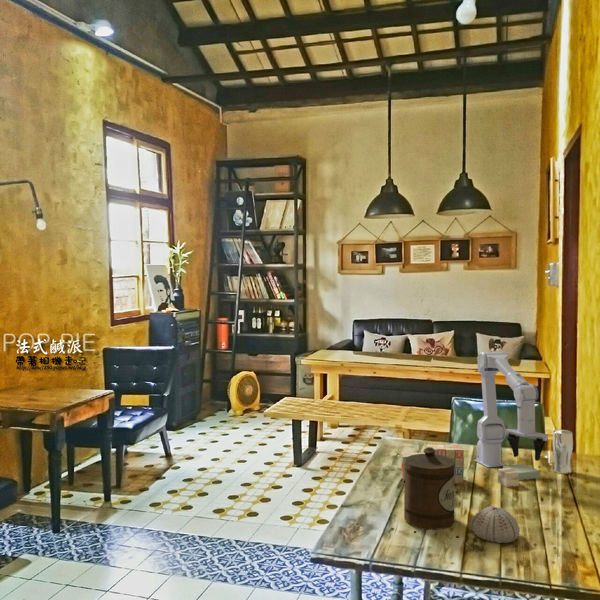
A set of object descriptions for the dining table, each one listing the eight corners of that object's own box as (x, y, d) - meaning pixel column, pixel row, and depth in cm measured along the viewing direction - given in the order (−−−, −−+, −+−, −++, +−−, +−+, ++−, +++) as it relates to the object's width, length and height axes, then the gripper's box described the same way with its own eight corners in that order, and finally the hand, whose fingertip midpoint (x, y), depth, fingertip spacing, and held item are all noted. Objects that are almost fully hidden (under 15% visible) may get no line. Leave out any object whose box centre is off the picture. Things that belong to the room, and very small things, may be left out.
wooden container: (455, 531, 176) (455, 456, 175) (403, 527, 179) (403, 453, 178) (453, 512, 191) (453, 442, 190) (405, 509, 194) (405, 440, 193)
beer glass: (575, 474, 226) (576, 434, 226) (556, 474, 226) (557, 434, 226) (567, 468, 233) (568, 429, 233) (549, 468, 233) (549, 429, 233)
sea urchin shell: (486, 523, 182) (486, 496, 182) (529, 537, 172) (529, 509, 172) (461, 535, 174) (461, 507, 173) (504, 551, 163) (504, 521, 163)
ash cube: (497, 483, 218) (497, 469, 218) (509, 481, 219) (509, 467, 219) (506, 487, 213) (506, 473, 213) (518, 486, 214) (518, 471, 214)
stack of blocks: (402, 482, 219) (402, 448, 218) (401, 477, 225) (401, 443, 225) (463, 483, 217) (464, 449, 217) (460, 478, 223) (460, 444, 223)
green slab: (503, 473, 229) (503, 465, 229) (523, 471, 231) (523, 463, 231) (518, 481, 220) (518, 473, 220) (539, 478, 223) (539, 470, 223)
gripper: (501, 418, 216) (501, 456, 216) (542, 423, 206) (542, 464, 206) (510, 415, 222) (510, 453, 222) (550, 420, 211) (551, 460, 211)
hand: (526, 458), depth 214 cm, fingers open, 7 cm apart
